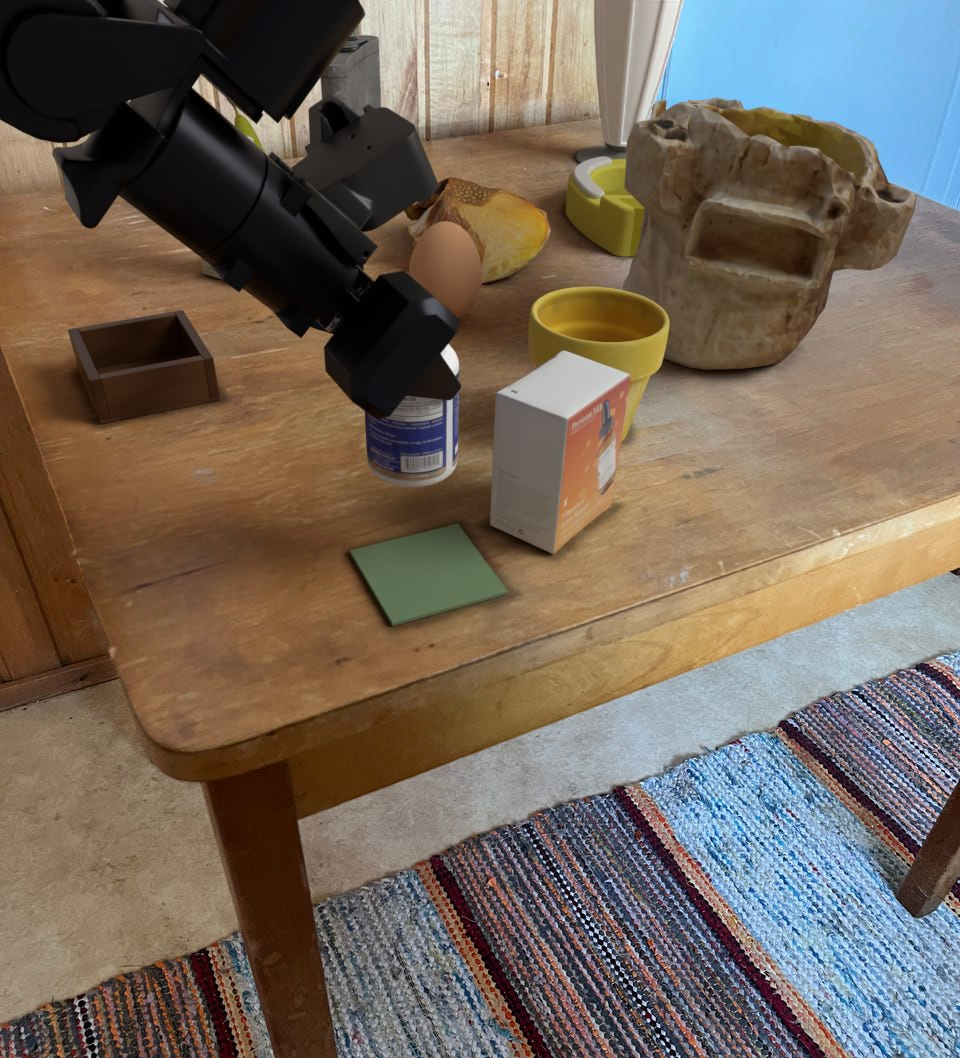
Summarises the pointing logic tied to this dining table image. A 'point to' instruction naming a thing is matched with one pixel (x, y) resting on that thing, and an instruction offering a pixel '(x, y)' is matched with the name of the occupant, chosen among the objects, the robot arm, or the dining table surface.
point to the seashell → (485, 224)
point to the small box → (557, 449)
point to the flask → (355, 73)
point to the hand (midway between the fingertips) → (432, 370)
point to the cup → (629, 65)
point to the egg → (448, 266)
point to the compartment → (144, 366)
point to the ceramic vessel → (752, 225)
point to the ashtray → (604, 205)
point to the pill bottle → (416, 438)
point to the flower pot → (602, 333)
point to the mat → (427, 574)
